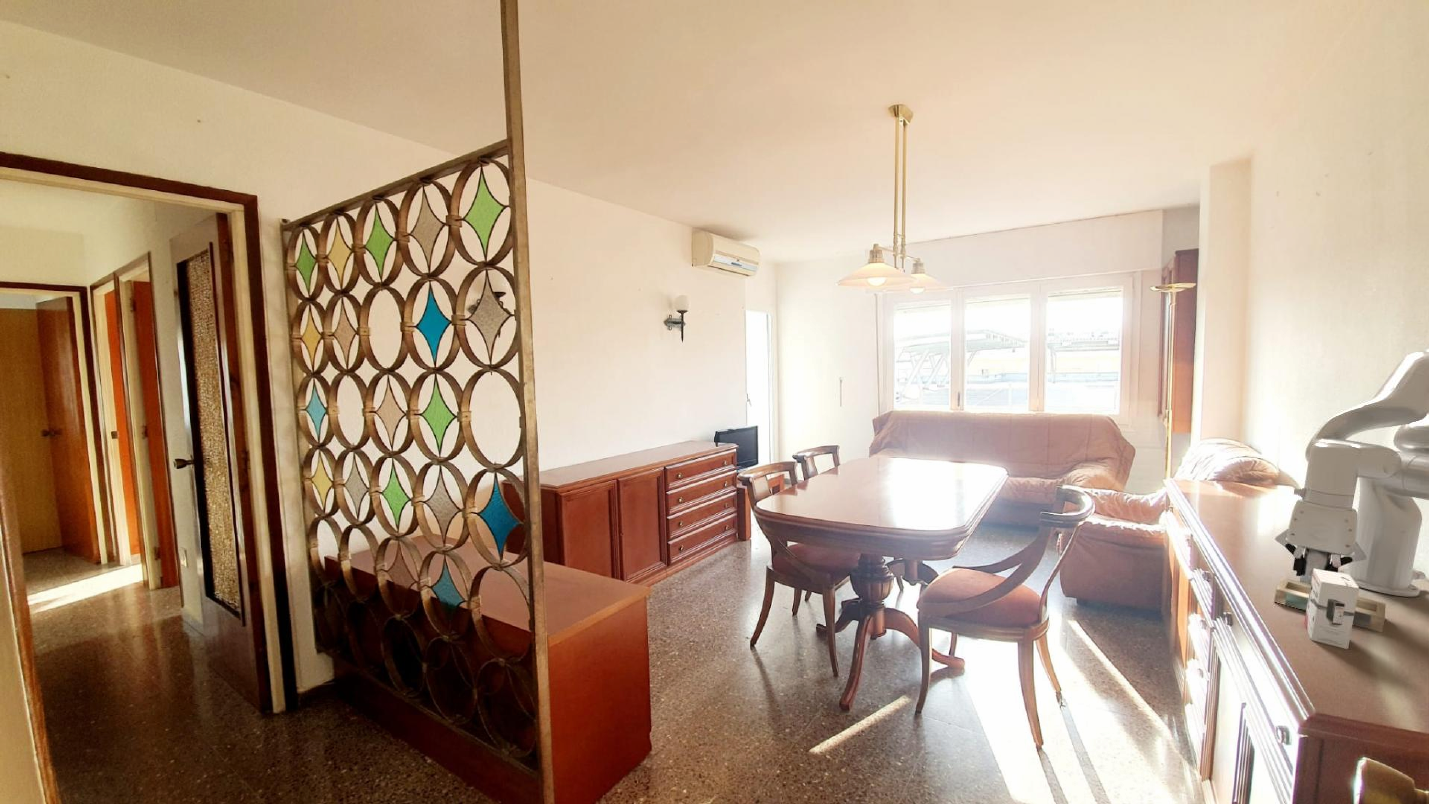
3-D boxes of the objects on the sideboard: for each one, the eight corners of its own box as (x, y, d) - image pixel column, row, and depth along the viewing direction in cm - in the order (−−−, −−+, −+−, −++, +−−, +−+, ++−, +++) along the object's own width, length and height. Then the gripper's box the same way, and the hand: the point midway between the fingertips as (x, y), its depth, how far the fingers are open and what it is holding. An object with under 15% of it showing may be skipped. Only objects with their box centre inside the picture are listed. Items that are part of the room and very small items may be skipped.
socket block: (1273, 602, 120) (1275, 589, 120) (1280, 590, 126) (1282, 577, 126) (1381, 633, 109) (1384, 618, 108) (1383, 617, 115) (1385, 603, 115)
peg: (1309, 587, 128) (1317, 541, 127) (1329, 595, 124) (1338, 548, 123) (1293, 587, 128) (1301, 541, 127) (1313, 595, 124) (1321, 548, 123)
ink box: (1302, 623, 112) (1312, 566, 110) (1338, 631, 109) (1349, 573, 107) (1310, 640, 105) (1320, 580, 103) (1349, 650, 102) (1360, 588, 100)
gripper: (1271, 492, 128) (1259, 569, 130) (1385, 512, 115) (1369, 597, 117) (1276, 487, 132) (1264, 562, 135) (1386, 506, 120) (1371, 587, 122)
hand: (1313, 577), depth 126 cm, fingers closed on peg, 4 cm apart
